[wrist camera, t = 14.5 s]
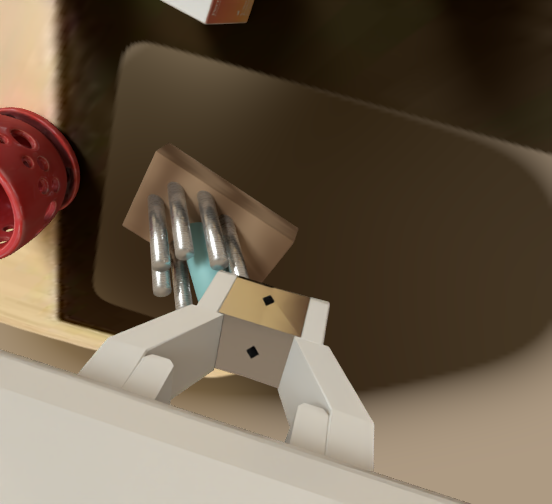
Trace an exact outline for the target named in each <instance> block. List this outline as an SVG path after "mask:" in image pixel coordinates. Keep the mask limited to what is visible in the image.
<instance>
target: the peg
mask: <svg viewBox="0 0 552 504" xmlns="http://www.w3.org/2000/svg"><path fill="white" fill-rule="evenodd" d="M190 229H191V235H192V241H193V247H194V256H193V257H192V258H191V259H189V260H186V261H187V264H188V267H189V271H190V274H191V278H192V281H193V285H194V288H195V292H196V295H197V298H198V302H199V301H200V299H201V298H202V296H203V295H204V293H205V291H206V290H207V288H208V286H209V285H210V283H211V282H212V280H213V278H214V277H215V275H216V274H217V272H218V271H216V270H213V269H212V268H211V267H210V262H209V257H208V251H207V246H206V241H205V236H204V231H203V226H202V223H201V222H195V223H191V224H190ZM223 271H226V270H225V269H224V270H223Z"/></svg>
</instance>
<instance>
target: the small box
mask: <svg viewBox="0 0 552 504" xmlns="http://www.w3.org/2000/svg"><path fill="white" fill-rule="evenodd" d="M161 1H163V2H165V3H166V4H168V5H170V6H172V7H174V8H176V9H178V10H179V11H181V12H183V13H185V14H187V15H189V16H191V17H192V18H194V19H196V20H198V21H200V22H202V23H203V24H233V23H246V22H247V21H248V18H249V15H250V12H251V9H252V5H253V3H254V0H161Z"/></svg>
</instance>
